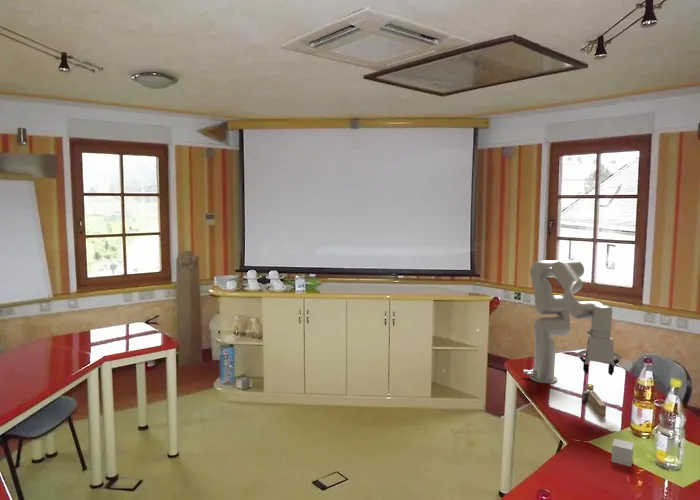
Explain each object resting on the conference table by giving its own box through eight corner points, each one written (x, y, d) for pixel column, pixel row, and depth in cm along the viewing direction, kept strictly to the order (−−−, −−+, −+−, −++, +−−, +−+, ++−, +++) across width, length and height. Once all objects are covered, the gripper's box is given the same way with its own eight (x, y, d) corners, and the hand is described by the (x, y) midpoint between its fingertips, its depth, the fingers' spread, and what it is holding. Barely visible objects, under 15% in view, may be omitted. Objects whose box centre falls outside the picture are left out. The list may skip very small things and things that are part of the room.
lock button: (587, 390, 226) (587, 386, 226) (585, 388, 229) (585, 383, 229) (594, 390, 226) (594, 386, 226) (592, 388, 228) (592, 384, 228)
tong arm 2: (602, 417, 210) (603, 405, 209) (591, 401, 226) (591, 391, 225) (605, 417, 209) (606, 405, 209) (593, 402, 226) (594, 391, 225)
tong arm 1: (600, 416, 210) (600, 405, 209) (587, 401, 226) (588, 390, 225) (602, 417, 210) (603, 405, 209) (590, 401, 226) (590, 390, 225)
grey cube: (611, 462, 174) (612, 445, 174) (613, 454, 179) (614, 438, 179) (631, 467, 171) (632, 449, 170) (632, 459, 176) (633, 442, 175)
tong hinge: (583, 402, 227) (584, 392, 226) (582, 399, 230) (582, 390, 229) (596, 402, 226) (596, 393, 226) (594, 400, 229) (594, 390, 228)
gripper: (581, 335, 213) (579, 374, 214) (625, 337, 210) (623, 378, 212) (576, 330, 220) (574, 369, 222) (619, 333, 217) (616, 372, 219)
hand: (598, 373), depth 217 cm, fingers open, 9 cm apart
